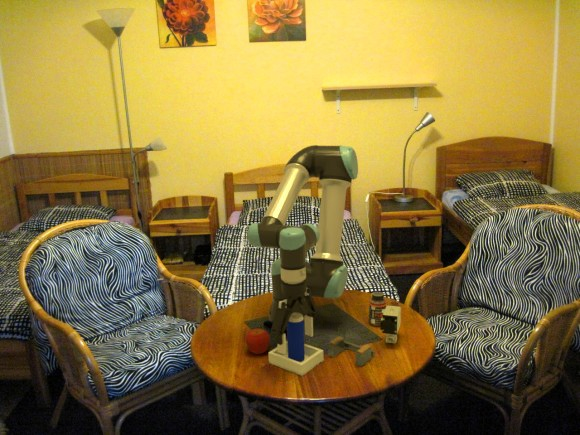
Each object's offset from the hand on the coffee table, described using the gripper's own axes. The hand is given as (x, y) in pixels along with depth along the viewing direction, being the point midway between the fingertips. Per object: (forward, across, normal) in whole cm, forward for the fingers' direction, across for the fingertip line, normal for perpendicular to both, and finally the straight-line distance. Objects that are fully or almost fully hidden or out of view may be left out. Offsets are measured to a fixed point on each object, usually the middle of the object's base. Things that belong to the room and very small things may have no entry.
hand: (295, 343), depth 169 cm
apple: (+6, -2, +14) cm, 15 cm away
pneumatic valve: (+6, +29, -17) cm, 34 cm away
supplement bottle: (+7, +38, -7) cm, 39 cm away
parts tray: (+6, 0, 0) cm, 6 cm away
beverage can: (+6, 0, 0) cm, 6 cm away
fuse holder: (+6, +12, -12) cm, 18 cm away
